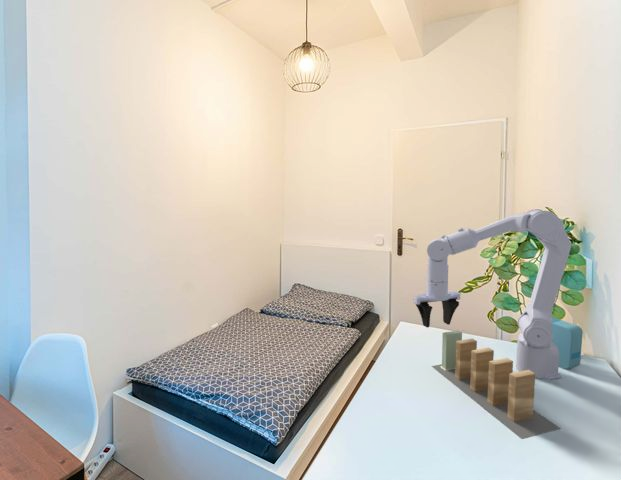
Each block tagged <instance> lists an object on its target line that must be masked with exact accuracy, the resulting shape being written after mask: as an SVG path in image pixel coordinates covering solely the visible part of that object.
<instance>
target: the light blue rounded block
mask: <svg viewBox="0 0 621 480" xmlns="http://www.w3.org/2000/svg"><path fill="white" fill-rule="evenodd" d="M552 322H553V323H552V327H551V331H552V334H553V340H552V342H553V343H554V344H555V345H556V346H557V348H558V350H559V367H558V368H561V369H563V370H570V369H572V368H576V367H579V366H580V365H581V360H582V359H581V358H582V357H581V356H582V343H583V330H582V327H580V325H578V324H575V323H571V322H568V321H565V320H561V319H559V318H555V317H553V316H552Z"/></svg>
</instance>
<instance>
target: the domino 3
mask: <svg viewBox="0 0 621 480" xmlns="http://www.w3.org/2000/svg"><path fill="white" fill-rule="evenodd" d="M513 368H514V360H511V358H508V357H506V358H505V357H503V358H499V359H493V361H489V377H488V400H487V402H488V403H489V404H491V405H492V406H496V405H500V404H505V403H508V393H509V374H510V373H514V372H513Z"/></svg>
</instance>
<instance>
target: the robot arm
mask: <svg viewBox="0 0 621 480" xmlns="http://www.w3.org/2000/svg"><path fill="white" fill-rule="evenodd" d="M508 232H516V233H524V234H525V233H527V232H528V233H530V234H531V235H533V236H534V237H536V239H537V240H538V241H539V242H540V243H541V244H542V246H543V247H544V251H543V252H542V253H543V254H542V258H541V261H540V264H539V268H538V271H537V274H536V275H537V276H536V279H535V281H534V285H533V289H532V291H531V296H530V300H529V303H528V304H527V305H526V306H525V309H524V311H523V312H522V314H521V315H520V316H519V317H518V319H517V321H516V322H517V327H518V329H519V330H520V331H521V332H520V334H519V335H518V336H517V338H516V340H517V341H516V342H517V343H516V360H515V369H516V370H517V372H520V371H525V370H530V371H532V372H533V373H535V379H546V378H548V379H550V380H555V379H560V378H562V375H561V374H559V368H560V367H559V350H558V348H557V346H556V345H555V344H554V343H553V342H552V340H553V334H552V331H551V327H552V323H553V322H552V317H553V315H552V311H553V309H554V304H555V302H556V299H557V295H558V292H559V288H560V285H561V282H562V280H563V279H562V278H563V276H564V271H565V268H566V265H567V261H568V258H569V255H570V252H571V250H572V242H571V241H570V238H569V236H568V233H567V231H566V228H565V225H564V221H563V220H562V219H561V218H560V217H558V216H557V215H556V214H555V213H553V212H552V211H549V210H541V209H538V208H537V209H531V210H528V211H527V212H523V211H522V212H520V213H517V214H516V213H515V214H513V215H510V216H506V217H504V218H501V219H499V220H497V221H495V222H492V223H490V224H487V225H485V226H482V227H480V228H477V229H471V228H469V227H466V228H463V227H459V228H458V229H457V231H455V232H453V233H450V234H448V235H445V234H442V235H441V236H440V238H434V239H432V240H431V241H430V242H429V244H428V246H427V248H426V253H427V255H428V256H427V266H426V267H427V269H426V270H427V271H426V293H423V294H420V295H414V296H413V298H412V299H413V300H412V301H413V304H415V306H416V307H417V310H418V312H419V314H420V317H421V321H422V325H423V326H424V327H426V328H427V329H428V328H430V324H431V313H432V310H433V306H431V305H430V303H434V302H435V303H436V302H441V305H442V313H443V314H442V315H443V317H442V321H443V323H444V324H446V325H447V326H449V325H451V321H452V319H453V316H454V313H455V312H456V309H457V308H458V307H459V306H460V300H461V293H460V292H458V291H449V264H448V257H449V256H450V255H451V256H454V255H457V254H460V253H463V252H466V251H469V250H472V249H474V248H476V247H477V245H478V244H479V242H480V241H483V240H487V239H489V238H493V237H496V236H500V235H503V234H506V233H508Z"/></svg>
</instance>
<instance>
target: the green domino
mask: <svg viewBox="0 0 621 480" xmlns="http://www.w3.org/2000/svg"><path fill="white" fill-rule="evenodd" d="M460 340H463V332H462V331H460V330H451V331H446V332H442V342H441V343H442V344H441V345H442V346H441V347H442V350H441V351H442V352H441V364H442V367H443V368H444V369H445V370H447V369H452V368H455V364H456V341H460Z"/></svg>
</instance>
